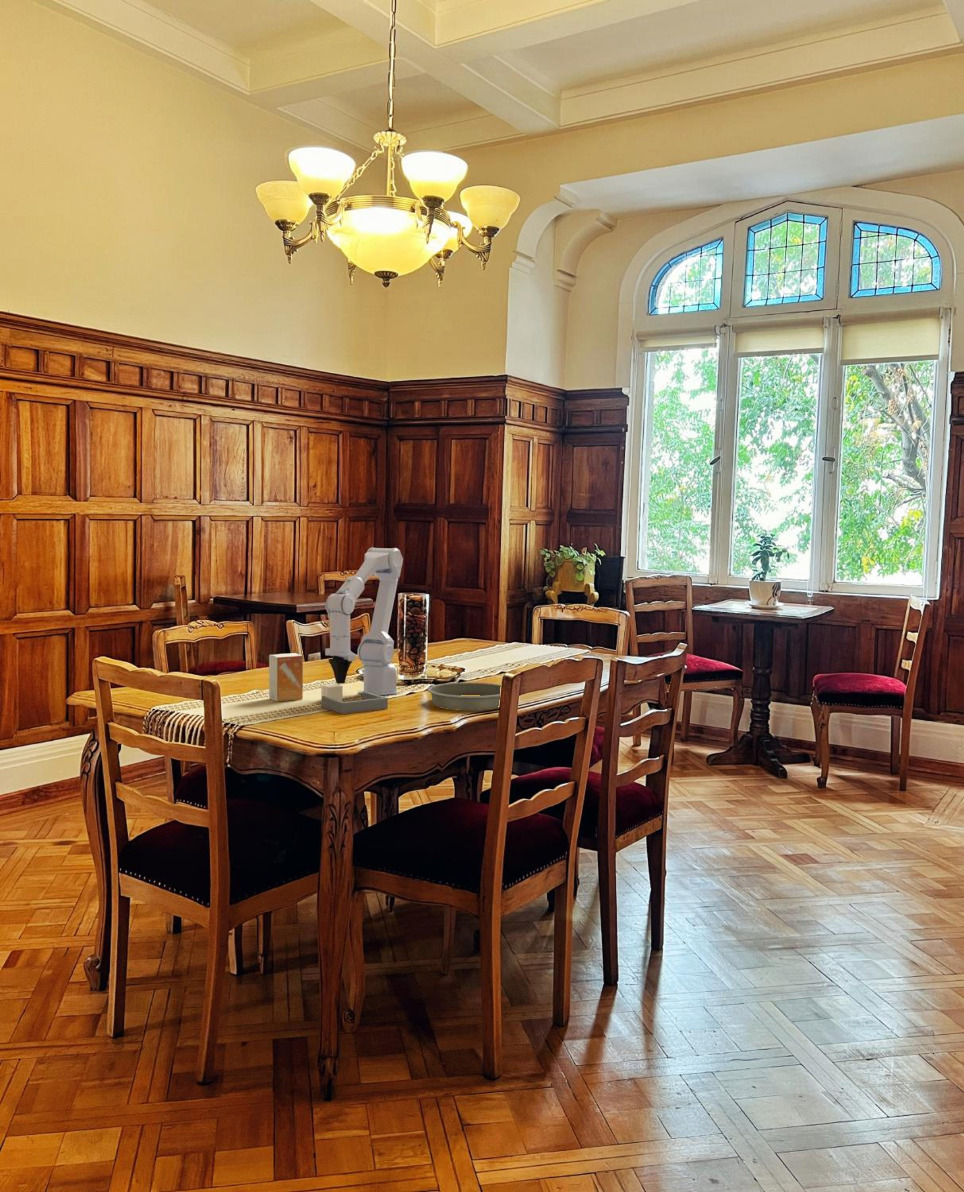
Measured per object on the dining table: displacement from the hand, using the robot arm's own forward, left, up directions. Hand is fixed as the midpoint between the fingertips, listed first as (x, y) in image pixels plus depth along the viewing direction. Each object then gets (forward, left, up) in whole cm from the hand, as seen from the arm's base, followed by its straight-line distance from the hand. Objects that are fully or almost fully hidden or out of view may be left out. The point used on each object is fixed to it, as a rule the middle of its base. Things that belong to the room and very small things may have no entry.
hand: (340, 683), depth 288 cm
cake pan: (-31, +21, -6) cm, 38 cm away
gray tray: (0, +8, -6) cm, 10 cm away
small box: (+10, -14, -6) cm, 19 cm away
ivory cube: (0, -5, -6) cm, 8 cm away
